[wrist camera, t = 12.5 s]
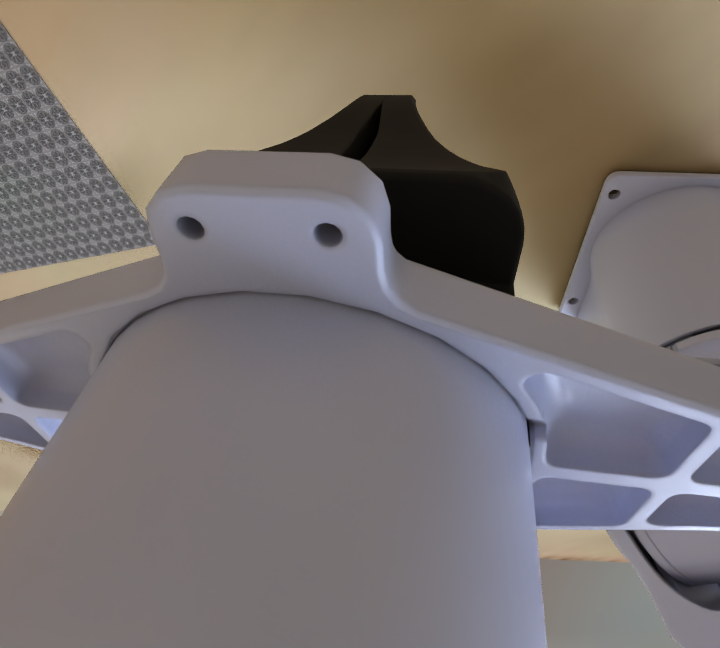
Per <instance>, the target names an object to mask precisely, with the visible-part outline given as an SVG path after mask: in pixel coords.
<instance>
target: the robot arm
mask: <svg viewBox="0 0 720 648" xmlns="http://www.w3.org/2000/svg"><path fill="white" fill-rule="evenodd" d="M612 190H618V192H617V193H615V194H613V195H609V192H610V191H612ZM146 214H147V220H148V227H149V232H150V234H151V237H152V239H153V241H154V243H155V245H156V247H157V250H158V252H159V254H160V255H159V256H156V257H152V258H149V259H145V260H142V261H138V262H135V263H131V264H128V265H124V266H121V267H117V268H114V269H110V270H107V271H104V272H100V273H97V274H93V275H90V276H86V277H83V278H79V279H76V280H72V281H69V282H65V283H62V284H58V285H55V286H51V287H48V288H44V289H41V290H38V291H34V292H31V293H27V294H24V295H20V296H17V297H13V298H10V299H6V300H3V301H0V439H1V440H5V441H9V442H13V443H17V444H21V445H25V446H29V447H32V448H36V449H40V450H43V452H42V453H41V455H40V456H39V458H38V459H37V461H36V462H35V464H34V466H33V467H32V469H31V470H30V472H29V473H28V475H27V476H26V478H25V479H24V481H23V482H22V484H21V485H20V487H19V489H18V490H17V492H16V493H15V495H14V496H13V498H12V499H11V501H10V502H9V504H8V505H7V507H6V508H5V510H4V511H3V513H2V515H1V516H0V648H547V641H546V629H545V619H544V607H543V597H542V584H541V573H540V562H539V551H538V539H537V529H569V530H606V531H607V533H608V534H609V536H610V538H611V539H612V541H613V542H614V544H615V545H616V547H617V548H618V549H619V551H620V552H621V553H622V554H623V556H624V557H625V558H626V559H627V560H628V561H629V563H630V564H631V565H632V567H633V568H634V570H635V571H636V573H637V574H638V576H639V578H640V579H641V581H642V583H643V584H644V586H645V588H646V589H647V591H648V593H649V595H650V597H651V598H652V600H653V602H654V604H655V606H656V608H657V610H658V612H659V614H660V616H661V618H662V619H663V621H664V623H665V625H666V628H667V630H668V632H669V634H670V636H671V638H673V639H674V640H675V641H676V642H677V643H678V644H680V645H681V646H683V647H684V648H720V174H701V173H668V172H634V171H617V172H614V173H611V174H610V175H609V176H608V177H607V178H606V180H605V182H604V185H603V187H602V190H601V193H600V196H599V199H598V201H597V204H596V207H595V210H594V213H593V215H592V218H591V221H590V224H589V227H588V229H587V232H586V235H585V238H584V241H583V243H582V246H581V249H580V252H579V255H578V257H577V260H576V263H575V266H574V269H573V271H572V274H571V277H570V280H569V283H568V285H567V288H566V291H565V294H564V297H563V299H562V302H561V305H560V308H559V312H558V311H556V310H553V309H550V308H547V307H544V306H541V305H538V304H535V303H532V302H529V301H526V300H524V299H521V298H518V297H515V295H514V280H515V276H516V272H517V268H518V264H519V259H520V255H521V251H522V247H523V242H524V221H523V216H522V211H521V208H520V204H519V201H518V198H517V196H516V193H515V190H514V188H513V185H512V183H511V181H510V179H509V176H508V174H507V173H506V171H502V170H497V169H492V168H487V167H483V166H479V165H477V164H474V163H471V162H469V161H466V160H464V159H462V158H460V157H458V156H457V155H455V154H453V153H452V152H450V151H449V150H447V149H446V148H444V147H443V146H442V145H441V144H440V143H439V142H438V141H437V140H435V138H434V137H433V136H432V134H431V133H430V132H429V130H428V129H427V127H426V126H425V124H424V122H423V121H422V119H421V117H420V115H419V113H418V110H417V108H416V100H415V99H414V98H413V96H412V95H363V96H361V97H359V98H358V99H356V100H355V101H353V102H352V103H351V104H349V105H348V106H347V107H345V108H344V109H342V110H341V111H340V112H338V113H337V114H335V115H334V116H333V117H331V118H329V119H328V120H326V121H325V122H323V123H321V124H320V125H318V126H316V127H315V128H313V129H312V130H310V131H308V132H306V133H304V134H302V135H300V136H298V137H296V138H293V139H291V140H289V141H287V142H284V143H281V144H278V145H275V146H272V147H269V148H266V149H263V150H259V151H234V150H206V151H202V152H198V153H195V154H191V155H187V156H184V157H183V159H182V160H181V161H180V162H179V164H178V165H177V166H176V167H175V169H174V170H173V171H172V172H171V174H170V175H169V176H168V177H167V179H166V180H165V181H164V183H163V184H162V185H161V186H160V188H159V189H158V190H157V192H156V193H155V195H154V196H153V198H152V199H151V201H150V202H149V204H148V205H147V207H146ZM572 298H576V299H574V300H570V299H572Z"/></svg>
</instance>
